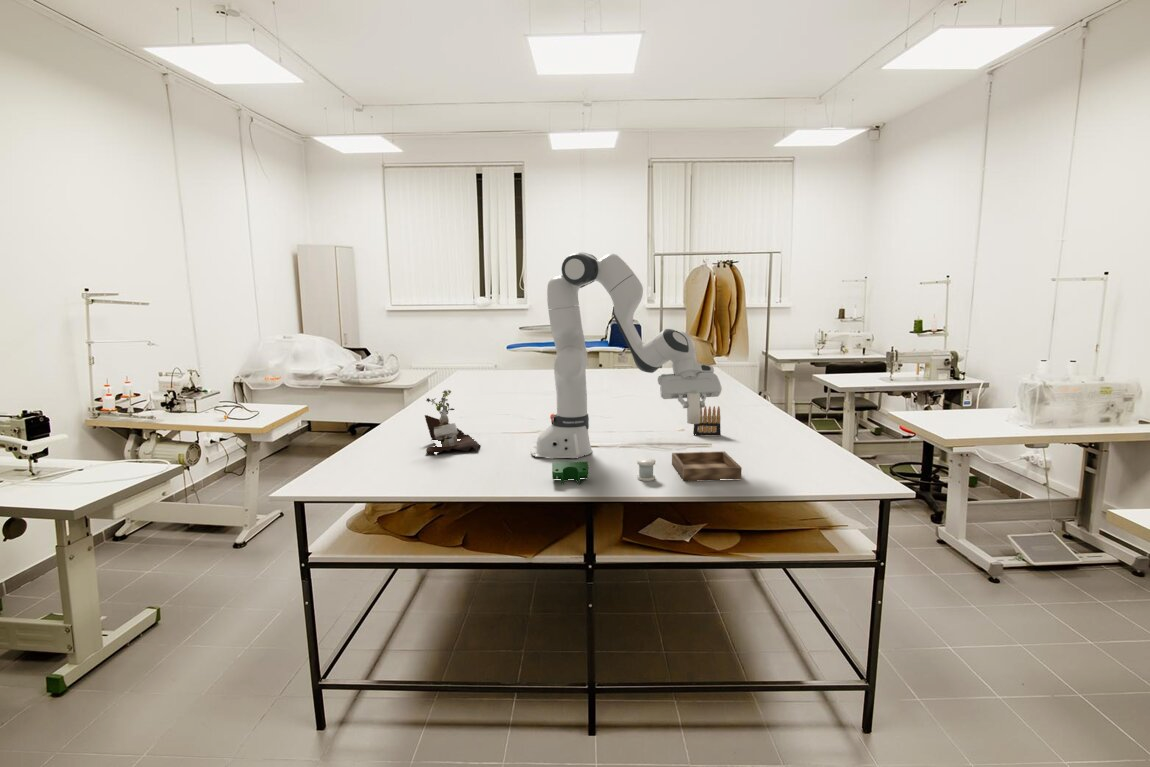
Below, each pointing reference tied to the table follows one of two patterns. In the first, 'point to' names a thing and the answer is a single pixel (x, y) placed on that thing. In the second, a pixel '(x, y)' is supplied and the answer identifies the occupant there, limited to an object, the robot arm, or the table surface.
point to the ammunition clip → (708, 423)
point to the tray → (705, 466)
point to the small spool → (646, 469)
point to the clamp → (570, 470)
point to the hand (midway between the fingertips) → (694, 407)
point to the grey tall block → (693, 407)
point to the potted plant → (447, 431)
